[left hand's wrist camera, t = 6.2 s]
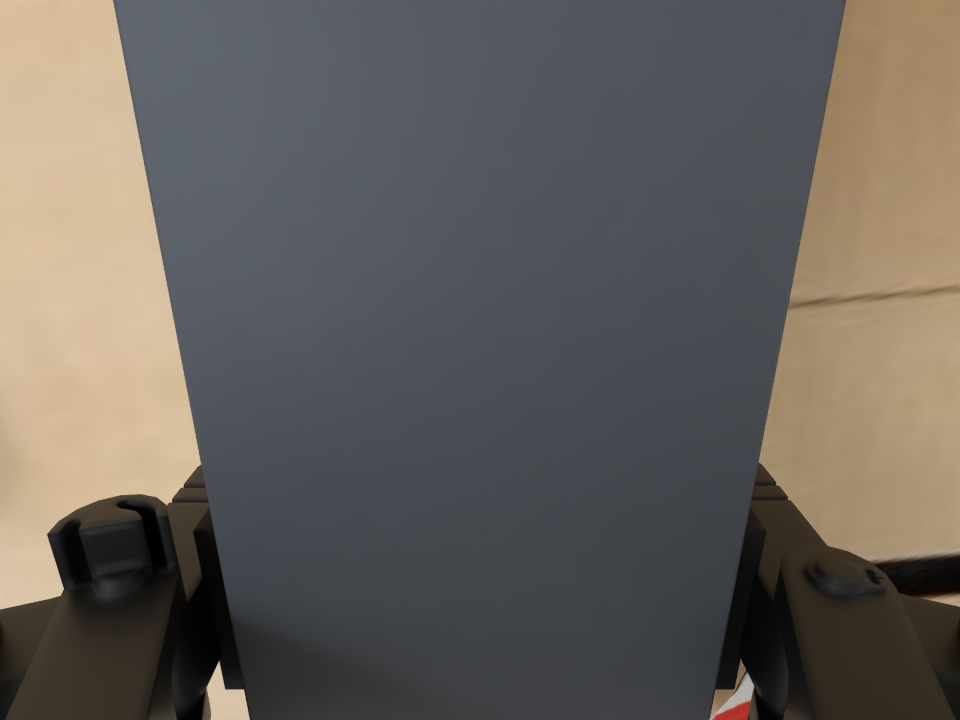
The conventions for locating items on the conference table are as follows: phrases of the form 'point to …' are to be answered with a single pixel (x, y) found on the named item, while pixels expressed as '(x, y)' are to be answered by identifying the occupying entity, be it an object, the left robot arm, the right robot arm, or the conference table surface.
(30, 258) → the conference table surface
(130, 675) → the left robot arm
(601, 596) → the bar
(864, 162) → the conference table surface
